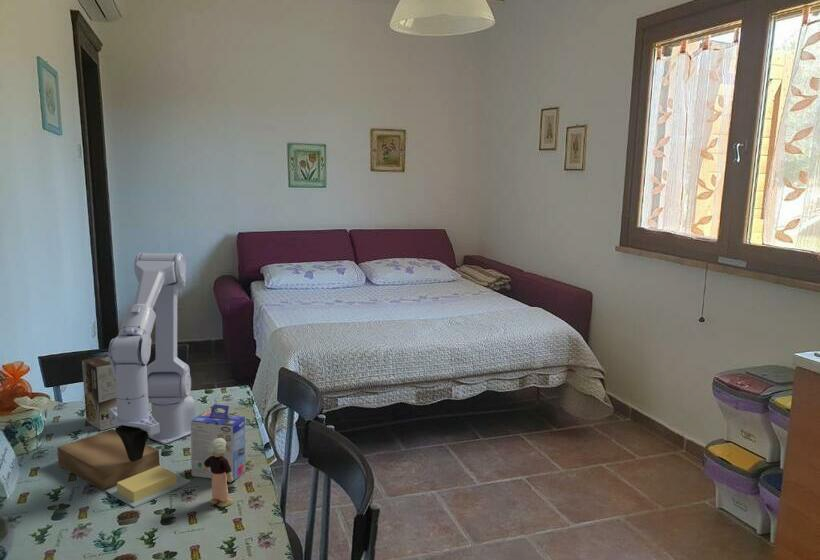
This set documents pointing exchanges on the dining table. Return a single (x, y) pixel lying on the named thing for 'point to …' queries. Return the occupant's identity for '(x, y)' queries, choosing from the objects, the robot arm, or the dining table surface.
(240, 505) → the dining table surface
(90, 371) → the coffee box
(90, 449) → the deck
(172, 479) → the pale yellow foam brick
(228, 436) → the ink cartridge box
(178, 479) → the mat
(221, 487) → the grandmother figurine
